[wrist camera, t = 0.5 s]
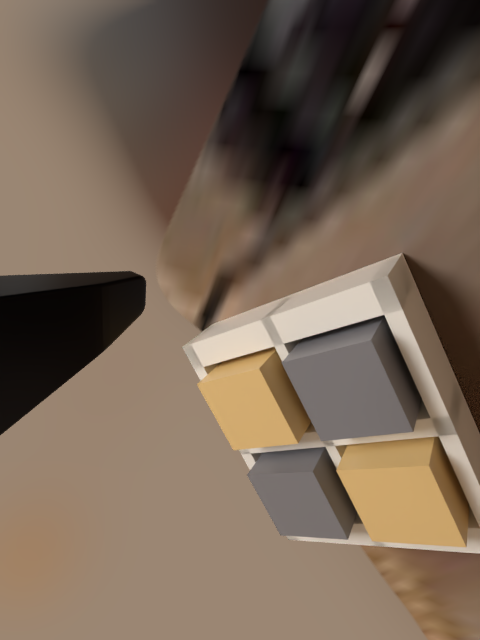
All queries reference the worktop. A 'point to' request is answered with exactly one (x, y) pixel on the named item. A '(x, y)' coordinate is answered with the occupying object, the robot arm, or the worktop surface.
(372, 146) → the worktop surface
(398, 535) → the ochre key
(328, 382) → the charcoal key near
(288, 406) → the ochre key
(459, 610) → the worktop surface
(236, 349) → the keypad
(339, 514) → the charcoal key far
